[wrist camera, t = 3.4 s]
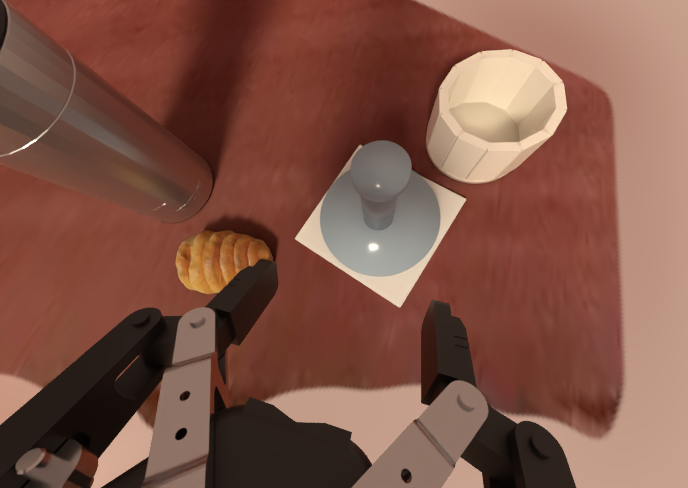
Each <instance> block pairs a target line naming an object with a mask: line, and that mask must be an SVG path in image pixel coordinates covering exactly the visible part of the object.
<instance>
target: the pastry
mask: <svg viewBox="0 0 688 488" xmlns="http://www.w3.org/2000/svg"><path fill="white" fill-rule="evenodd" d="M260 259H266V260H270V261H273V257H272V254H271V251H270V249H269V248H268V246H267V245H266V244H265V242H264V241H263V240H259V239H255V238H253V237H251V236H249V235H245V234H238V233H235V232H233V231H230V230H225V231H221V232H212V231H210V230H205V231H203V232H201V233H198V234H196V235H194V236H192V237H190V238H189V239H188V240H185V241H183V242H182V244H181V245H180V247H179V250H178V252H177V258H176V267H177V269H178V276H179V278H180V280H181V282H182V283H183V284H184V285H185V286H186V287H187V288H188V289H190V290H197V291H199V292H202V293H205V294H212V293H218V292H220V291H221V290H222V289H223V288H224V287H225V286H226V285H228V283H229V282H230V281H231V280H232V279H233V278H234V277H235V276H236V275H237V273H238V272H239V271H241V270H243V269H244V268H246V267H248V266H254V265H255V264H256V263H257V262H258V260H260Z"/></svg>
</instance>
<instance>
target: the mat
mask: <svg viewBox="0 0 688 488" xmlns="http://www.w3.org/2000/svg"><path fill="white" fill-rule="evenodd" d="M361 147H363V146H362V145H359V146H358V148H357V149H356V151H355V152H354V153H353V155H352V156H351V158H350V159H349V161H348V162H347V164H346V165H345V167H344V168H343V169H342V171H341V172H340V174H339V175H338V177H337V178H336V180H337V179H338V178H339V177H340V176H341V175H343V174H344V173H345V172H347V171H349V170H350V167H351V162H352V159H353V157H354V155H355V154H356V152H357V151H358V150H359V149H360V148H361ZM421 177H422V176H421ZM422 178H423V179H424V180H425V181H426V182H427V183H428V184H429V186H430V187H431V188H432V190H433V192H434V193H435V195H436V198H437V201H438V204H439V208H440V217H441V218H440V228H439V233H438V236H437V239H436V241H435V243H434V245H433V247H432V248H431V250H430V251H429V252H428V254H427V255H426V256H425V257H424V258H423V259H422V260H421V261H420V262H418V263H417V264H416V265H415V266H413V267H412V268H410V269H408V270H406V271H404V272H402V273H399V274H396V275H392V276H385V277H374V276H367V275H363V274H360V273H357V272H355V271H353V270H351V269H349V268H347V267H346V266H345V265H343V264H342V263H341V262H340V261H339V260H338V259H337V258H336V257H335V256H334V255H333V254H332V253H331V251H330V250H329V249H328V247H327V245H326V243H325V241H324V239H323V236H322V232H321V227H320V212H321V206H322V203H323V200H324V198H325V196H324V197H323V198H322V200H321V201H320V203H319V204H318V206H317V207H316V209H315V210H314V212H313V213H312V214H311V216H310V217H309V219H308V220H307V222H306V223H305V225H304V226H303V227H302V229H301V230H300V232H299V233H298V235H297V236H296V238H295V239H296V240H297V241H299V242H300V243H302V244H303V245H305V246H306V247H308V248H309V249H311V250H312V251H314V252H315V253H317V254H318V255H320V256H321V257H323V258H324V259H326V260H328V261H329V262H331V263H332V264H334V265H335V266H337V267H338V268H340V269H341V270H343V271H344V272H346V273H347V274H349V275H350V276H352V277H353V278H355V279H356V280H358V281H360V282H361V283H363V284H364V285H366V286H367V287H369V288H370V289H372V290H373V291H375V292H376V293H378V294H379V295H381V296H382V297H384V298H385V299H387V300H388V301H390V302H392V303H393V304H395V305H396V306H398V307H399V308H400V307H401V305H402V304H403V302H404V301H405V299H406V297H407V296H408V294H409V292H410V291H411V289H412V287H413V286H414V284H415V283H416V281H417V279H418V278H419V276H420V274H421V273H422V271H423V269H424V268H425V266H426V265H427V263H428V261H429V260H430V258H431V256H432V255H433V253H434V251H435V250H436V248H437V247H438V245H439V243H440V242H441V240H442V238H443V237H444V235H445V233H446V232H447V230H448V229H449V227H450V225H451V224H452V222H453V220H454V219H455V217H456V215H457V214H458V212H459V211H460V209H461V207H462V206H463V204H464V202H465V201H466V199H465V198H463V197H461V196H459V195H457V194H455V193H453V192H451V191H450V190H448V189H446V188H444V187H442V186H440V185H438V184H436V183H434V182H432V181H430V180H428V179H426V178H424V177H422ZM336 180H335V181H336ZM335 181H334V182H335ZM334 182H333V183H334ZM331 186H332V185H331ZM327 192H328V191H327ZM325 195H326V194H325Z"/></svg>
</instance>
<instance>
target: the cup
mask: <svg viewBox="0 0 688 488" xmlns="http://www.w3.org/2000/svg"><path fill="white" fill-rule="evenodd" d="M541 61H542V60H541V59H539V58H536V57H533V56H530V55H527V54H525V53H522V52H519V51H516V50H513V52H512V49H510V50H495V51H482V52H481V53H480V52H479V53H477V54H475V55H473V56H471V57H469V58H467V59H465V60H463V61H461V62H460V63H458V64H456V65H455V66H453V68H452V69H451V71H450V72H449V74H448V75H447V77H446V78H445V80H444V81H443V83H442V84H441V86H440V87H439V91H438V94H437V97H436V100H435V104H434V107H433V110H432V113H431V117H430V120H429V123H428V126H427V135H426V149H427V153H428V155H429V158H430V160H431V161H432V163H433V164H434V166H435V167H436V168H437V169H438V170H439V171H440V172H442V173H443V174H444V175H446V176H448V177H449V178H451V179H454V180H456V181H459V182H463V183H469V184H482V183H488V182H491V181H495V180H497V179H499V178H501V177H503V176H505V175H506V174H507V173H509V172H510V171H512V170H514V169H516V168H517V167H518V166H519V165H520V164H521V163H522V162H523V161H524V160H525V159H527V158H528V157H529V156H530V155H531V154H532V153H533V152H534V151H535V150H536V149H537V148H539V147H540V146H541V145H542V144H543V143H544V142H545V141H546V140H547V139H548V138H550V137H551V136H552V135H553V133H554V132H555V130H556V128H557V126H558V125H559V123H560V121H561V120H562V118H563V116H564V114H565V113H566V111H567V110H566V109H567V104H566V97H565V90H564V83H562V80H561V79H560V78H559V77H558V76H557V75H556V74H555V72H554V71H553V70H552V69H551V68H550V67H549V66H548V65H547V64H546V63H545V62H544V61H542V62H541Z"/></svg>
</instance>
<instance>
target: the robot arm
mask: <svg viewBox="0 0 688 488" xmlns="http://www.w3.org/2000/svg"><path fill="white" fill-rule="evenodd" d="M0 164H1V165H3V166H6V167H9V168H12V169H15V170H18V171H20V172H23V173H26V174H29V175H32V176H35V177H37V178H40V179H43V180H46V181H49V182H52V183H54V184H57V185H60V186H63V187H66V188H69V189H71V190H74V191H77V192H80V193H83V194H86V195H88V196H91V197H94V198H97V199H100V200H103V201H105V202H108V203H111V204H114V205H117V206H120V207H122V208H125V209H128V210H131V211H134V212H136V213H139V214H142V215H145V216H148V217H151V218H153V219H156V220H159V221H162V222H167V223H174V222H180V221H183V220H186V219H188V218H190V217H192V216H193V215H194V214H196V213H197V212H198V211H199V210H200V209H201V208H202V207H203V206H204V205H205V203H206V201H207V200H208V198H209V196H210V193H211V190H212V185H213V176H212V172H211V169H210V167H209V165H208V163H207V162H206V161H205V160H204V159H203V158H202V157H200V156H199V155H198V154H197V153H195V152H194V151H193V150H192V149H190V148H189V147H188V146H187V145H185V144H184V143H183V142H182V141H180V140H179V139H178V138H177V137H176V136H174V135H173V134H172V133H171V132H169V131H168V130H167V129H166V128H164V127H163V126H162V125H161V124H159V123H158V122H157V121H156V120H154V119H153V118H152V117H151V116H149V115H148V114H147V113H146V112H144V111H143V110H142V109H141V108H139V107H138V106H137V105H136V104H134V103H133V102H132V101H131V100H129V99H128V98H127V97H126V96H124V95H123V94H122V93H121V92H119V91H118V90H117V89H116V88H114V87H113V86H112V85H111V84H109V83H108V82H107V81H106V80H104V79H103V78H102V77H101V76H99V75H98V74H97V73H96V72H94V71H93V70H92V69H91V68H89V67H88V66H87V65H86V64H84V63H83V62H82V61H81V60H79V59H78V58H77V57H76V56H74V55H73V54H72V53H71V52H69V51H68V50H67V49H66V48H64V47H63V46H62V45H60V44H59V43H58V42H56V41H55V40H54V39H53V38H51V37H50V36H49V35H48V34H46V33H45V32H44V31H43V30H41V29H40V28H39V27H38V26H36V25H35V24H34V23H33V22H31V21H30V20H29V19H28V18H26V17H25V16H24V15H23V14H21V13H20V12H19V11H18V10H16V9H15V8H14V7H13V6H11V5H10V4H9V3H8V2H6V1H5V0H0ZM277 288H278V276H277V265H276V262H274V261H270V260H266V259H260V260H258V262H257V263H256V264H255V265H254V266H248V267H246V268H244V269H243V270H241V271H239V272H238V273H237V275H236V276H235V277H234V278H233V279H232V280H231V281H230V282H229V283H228V285H226V286H225V287H224V288H223V289H222V290H221V291H220V292H219V293H218V294H217V295H216V296H215V297H214V298H213V299H212V300H211V301H210V303H209V304H208V305H207V306H206V307H201V308H196V309H193V310H191V311H189V312H187V313H186V314H185V315H184V316H162V314H161V312H160V310H158V309H156V308H144V309H140V310H138V311H135V312H134V313H132V314H130V315H129V316H127V317H126V318H125V319H124V320H123V321H122V322H120V323H119V324H118V325H117V326H116V327H115V328H113V329H112V330H111V331H110V332H109V333H108V334H106V335H105V336H104V337H103V338H102V339H101V340H99V341H98V342H97V343H96V344H95V345H93V346H92V347H91V348H90V349H89V350H88V351H86V352H85V353H84V354H83V355H82V356H81V357H79V358H78V359H77V360H76V361H75V362H74V363H72V364H71V365H70V366H69V367H68V368H67V369H65V370H64V371H63V372H62V373H61V374H60V375H58V376H57V377H56V378H55V379H54V380H53V381H51V382H50V383H49V384H48V385H47V386H46V387H44V388H43V389H42V390H41V391H40V392H39V393H37V394H36V395H35V396H34V397H33V398H32V399H30V400H29V401H28V402H27V403H26V404H25V405H24V406H22V407H21V408H20V409H19V410H17V411H16V412H15V413H14V414H13V415H12V416H10V417H9V418H8V419H7V420H6V421H5V422H4V423H2V424H1V425H0V488H91V486H92V484H93V481H94V475H95V473H96V470H97V467H98V458H99V457H100V456H101V455H102V453H103V452H104V451H105V450H106V448H107V447H108V446H109V445H110V443H111V442H112V441H113V440H114V438H115V437H116V436H117V435H118V433H119V432H120V431H121V430H122V428H123V427H124V426H125V425H126V424H127V422H128V421H129V420H130V418H131V417H132V416H133V415H134V414H135V412H136V411H137V410H138V409H139V408H140V406H141V405H142V404H143V403H144V401H145V400H146V399H147V398H148V396H149V395H150V394H151V393H152V391H153V390H154V389H155V388H156V386H157V385H158V384H159V383H160V381H161V380H162V385H161V391H160V396H159V402H158V408H157V413H156V419H155V425H154V430H153V436H152V442H151V447H150V453H149V457H147V458H146V459H145V460H143V461H141V462H140V463H138V464H137V465H135V466H134V467H132V468H131V469H129V470H128V471H126V472H124V473H123V474H121V475H120V476H118V477H117V478H115V479H114V480H112V481H111V482H109V483H107V484H106V485H104V486H103V487H101V488H441V487H442V486H443V484H444V483H445V481H446V480H447V478H448V477H449V476H450V474H451V473H452V471H453V469H454V467H455V464H456V462H457V460H458V459H459V458H460V457H461V458H463V459H464V460H466V461H467V462H468V463H470V464H471V465H472V466H474V467H475V468H477V469H478V470H479V471H481V472H482V476H483V484H484V488H576V486H575V483H574V480H573V477H572V474H571V471H570V468H569V465H568V462H567V459H566V456H565V454H564V451H563V449H562V447H561V446H560V444H559V443H558V441H557V440H556V439H555V438H554V437H553V436H552V435H551V434H550V433H549V432H548V431H547V430H546V429H545V428H543V427H542V426H540V425H538V424H536V423H534V422H530V421H522V422H520V423H519V424H517V423H515V422H514V421H512V420H510V419H509V418H507V417H506V416H504V415H502V414H501V413H499V412H497V411H496V410H494V409H493V408H492V407H491V406H490V405H489V404H488V403H487V402H486V400H485V398H484V397H483V395H482V394H481V393H480V391H479V390H478V389H477V386H476V382H475V376H474V371H473V365H472V360H471V354H470V350H469V343H468V341H467V340H468V338H467V332H466V328H465V326H464V325H463V323H462V321H461V320H460V318H458V317H454V316H451V310H450V305H449V304H448V303H444V302H440V301H435V300H432V301H431V303H430V306H429V308H428V311H427V313H426V316H425V318H424V321H423V324H422V331H421V403H423V404H426V405H429V407H428V408H427V409H426V410H425V411H424V412H423V414H422V415H421V416H420V417H419V418H418V419H417V420H414V421H413V422H412V423H411V424H410V425H409V426H408V427H407V428H406V429H405V430H404V431H403V432H402V434H401V435H400V436H399V437H398V438H397V439H396V440H395V441H394V442H393V443H392V444H391V445H390V446H389V448H388V449H387V450H386V451H385V452H384V453H383V454H382V455H381V456H380V457H379V459H378V460H377V461H376V462H375V463H374V464H373V465H372V464H371V462H370V461H369V459H368V457H367V456H366V455H365V453H364V452H363V451H362V450H361V449H360V448H359V447H358V446H357V445H356V444H355V443H353V442H352V441H351V440H350V439H351V433H352V432H349V431H347V430H344V429H341V428H338V427H335V426H332V425H329V424H326V423H301V422H295V421H293V420H292V419H291V418H289V417H288V416H287V415H285V414H284V413H283V412H282V411H280V410H279V409H278V408H276V407H275V406H274V405H271V404H268V403H265V402H262V401H260V400H257V399H254V398H251V397H250V398H249V399H248V401H247V403H246V405H236V406H232V407H231V402H230V396H229V390H228V362H227V348H228V347H229V346H230V344H235V345H238V346H240V344H241V343H242V341H243V340H244V338H245V337H246V335H247V334H248V333H249V331H250V330H251V328H252V327H253V325H254V324H255V322H256V321H257V320H258V318H259V317H260V315H261V314H262V312H263V311H264V309H265V308H266V307H267V305H268V304H269V302H270V301H271V299H272V298H273V296H274V295H275V293H276V291H277ZM137 356H139V357H138V358H137V359H136V360H135V361H134V362H133V363H132V365H131V366H130V367H129V368H128V369H127V370H126V371H125V372H124V373H123V374H122V375H121V376H120V377H119V378H118V379H117V380H116V378H117V377H118V376H119V374H120V373H121V372H122V371H123V370H124V369H125V368H126V367H127V366H128V365H129V364H130V363H131V362H132V361H133V360H134V359H135V358H136V357H137ZM115 380H116V381H115Z"/></svg>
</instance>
